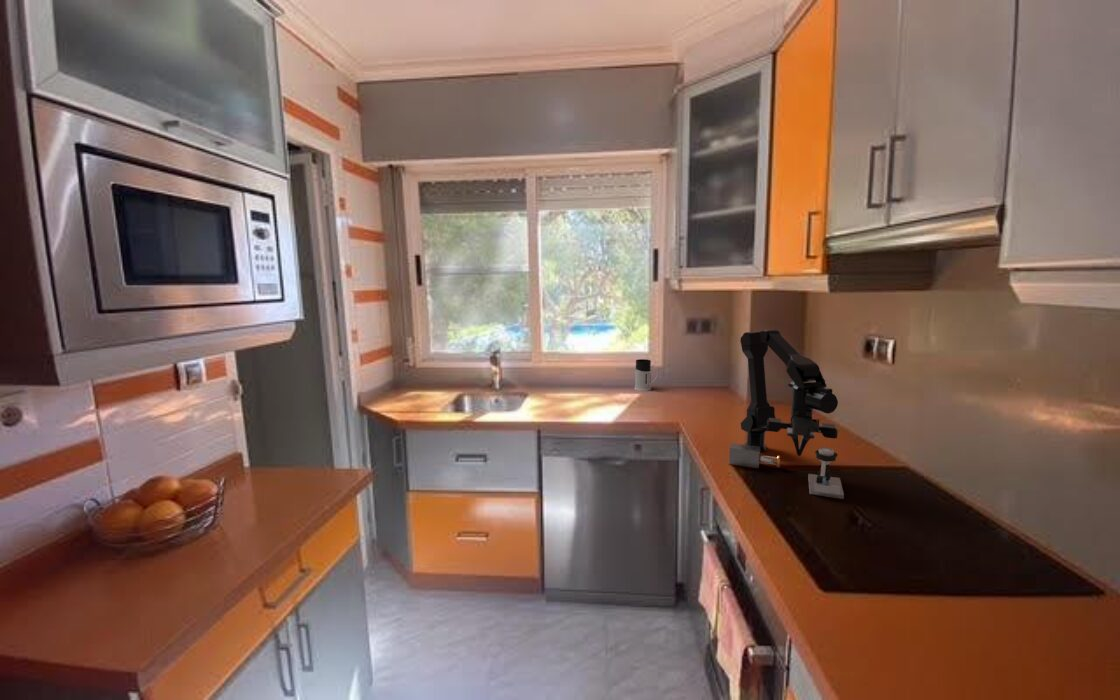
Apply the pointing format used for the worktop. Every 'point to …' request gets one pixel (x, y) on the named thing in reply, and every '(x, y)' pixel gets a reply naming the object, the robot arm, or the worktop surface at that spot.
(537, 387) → the worktop surface
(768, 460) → the press pin
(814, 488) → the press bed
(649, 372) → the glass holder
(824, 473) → the push button
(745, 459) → the block
